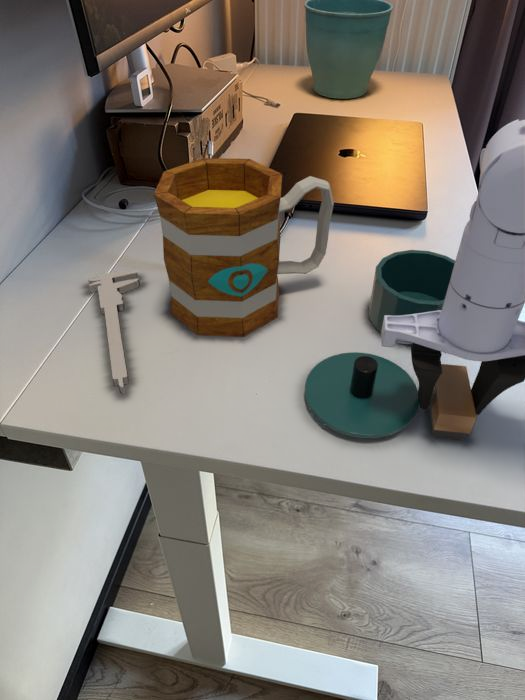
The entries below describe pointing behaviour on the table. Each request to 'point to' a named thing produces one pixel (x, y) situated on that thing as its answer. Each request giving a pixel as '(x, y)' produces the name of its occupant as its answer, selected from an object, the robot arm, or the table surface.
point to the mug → (230, 242)
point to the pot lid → (361, 395)
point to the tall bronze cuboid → (452, 404)
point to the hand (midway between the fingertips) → (448, 404)
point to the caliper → (115, 316)
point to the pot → (409, 284)
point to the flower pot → (345, 44)
